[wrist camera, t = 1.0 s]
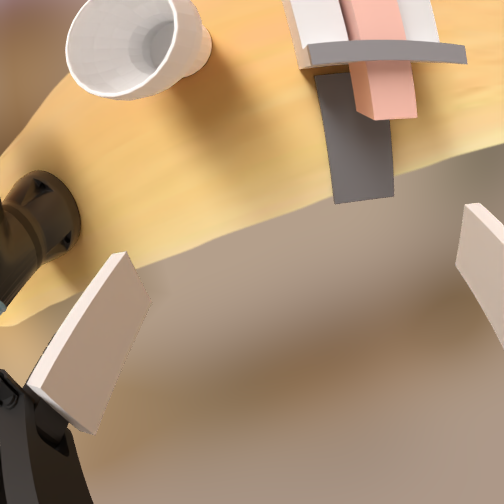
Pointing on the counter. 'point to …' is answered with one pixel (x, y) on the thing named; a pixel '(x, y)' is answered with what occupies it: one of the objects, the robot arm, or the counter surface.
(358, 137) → the pad
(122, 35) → the cup
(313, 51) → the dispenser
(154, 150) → the counter surface
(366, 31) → the pink rectangular block
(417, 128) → the counter surface
